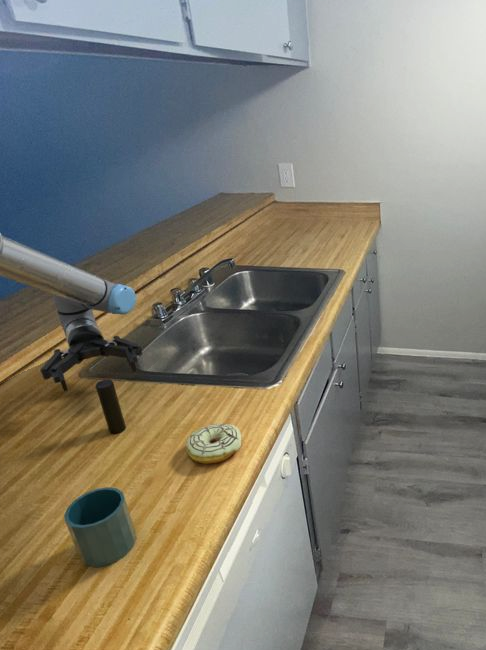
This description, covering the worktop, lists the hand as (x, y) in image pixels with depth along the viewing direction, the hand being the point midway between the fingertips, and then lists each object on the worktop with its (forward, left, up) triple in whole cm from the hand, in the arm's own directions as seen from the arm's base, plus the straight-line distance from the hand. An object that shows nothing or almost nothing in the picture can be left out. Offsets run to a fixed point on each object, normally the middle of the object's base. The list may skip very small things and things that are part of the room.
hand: (100, 376), depth 106 cm
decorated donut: (+28, +15, -9) cm, 33 cm away
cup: (+41, -7, -9) cm, 43 cm away
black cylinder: (+9, 0, -9) cm, 13 cm away
